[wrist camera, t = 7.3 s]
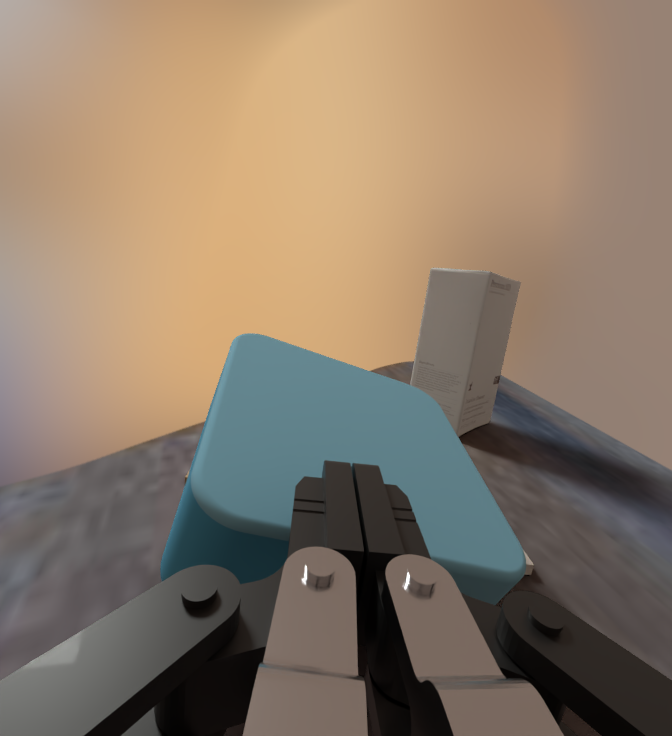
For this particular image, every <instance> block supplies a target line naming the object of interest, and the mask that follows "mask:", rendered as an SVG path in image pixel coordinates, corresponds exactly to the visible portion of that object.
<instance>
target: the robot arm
mask: <svg viewBox="0 0 672 736" xmlns="http://www.w3.org/2000/svg"><path fill="white" fill-rule="evenodd" d="M357 645H363V646H366V648H367V656H368V662H367V667H366V672H365V678H363V676H358V656H357ZM366 699H367V705H368V710H369V716H370V722H371V728H372V733H373V736H577V735H576V734H575V733H574V732H573V731H572V730H571V729H569V728H568V727H567V726H566V725H565V724H564V723H563V722H561V719H562V716H563V714H564V711H565V708H566V706H567V707H568V708H570V709H571V710H572V711H573V712H574V713H576V714H577V715H578V716H579V717H580V718H582V719H583V720H584V721H585V722H586V723H587V724H589V725H590V726H591V727H592V728H593V729H595V730H596V731H597V732H598V733H599V734H600V735H602V736H672V680H670V679H669V678H667V677H666V676H664V675H663V674H661V673H660V672H658V671H657V670H655V669H654V668H652V667H651V666H649V665H648V664H646V663H645V662H644V661H642V660H641V659H639V658H638V657H636V656H635V655H633V654H632V653H630V652H629V651H627V650H626V649H624V648H623V647H621V646H620V645H618V644H617V643H615V642H614V641H612V640H611V639H609V638H608V637H607V636H605V635H604V634H602V633H601V632H599V631H598V630H596V629H595V628H593V627H592V626H590V625H589V624H587V623H586V622H584V621H583V620H581V619H580V618H578V617H577V616H575V615H574V614H572V613H571V612H569V611H568V610H567V609H565V608H564V607H562V606H561V605H559V604H558V603H556V602H554V601H553V600H551V599H549V598H547V597H545V596H543V595H540V594H537V593H534V592H530V591H514V592H511V593H509V594H508V595H507V596H506V597H505V598H504V601H503V604H502V607H499V606H496V605H493V604H490V603H487V602H484V601H481V600H478V599H475V598H473V597H470V596H467V595H465V594H463V593H461V592H460V591H459V589H458V587H457V585H456V583H455V581H454V579H453V578H452V576H451V575H450V574H449V572H448V571H447V570H446V569H444V568H443V567H442V566H441V565H439V564H438V563H436V562H435V561H433V560H431V557H430V554H429V552H428V549H427V546H426V544H425V541H424V538H423V536H422V533H421V531H420V528H419V525H418V523H416V517H415V515H414V512H412V507H411V504H410V502H409V499H408V496H407V495H406V494H405V493H404V492H403V491H402V490H401V489H400V488H399V487H398V486H397V485H391V484H384V481H383V478H382V474H381V471H380V468H379V466H378V465H369V464H359V463H353V464H352V466H351V464H350V463H348V462H338V461H328V460H324V465H323V471H322V478H318V477H307V476H304V477H303V478H302V479H301V481H300V482H299V483H298V484H297V485H296V487H295V495H294V504H293V512H292V520H291V529H290V537H289V546H288V555H287V559H286V562H285V563H284V565H283V566H282V567H281V568H280V569H279V570H278V571H277V572H275V573H274V574H272V575H271V576H269V577H267V578H264V579H262V580H258V581H254V582H249V583H244V584H240V583H239V580H238V579H237V577H236V576H235V575H234V574H233V573H232V572H230V571H229V570H227V569H225V568H223V567H220V566H216V565H197V566H192V567H188V568H186V569H183V570H181V571H179V572H177V573H175V574H174V575H172V576H170V577H169V578H167V579H165V580H164V581H162V582H161V583H159V584H157V585H156V586H154V587H152V588H151V589H149V590H148V591H146V592H144V593H143V594H141V595H139V596H138V597H136V598H134V599H133V600H131V601H130V602H128V603H126V604H125V605H123V606H121V607H120V608H118V609H117V610H115V611H113V612H112V613H110V614H108V615H107V616H105V617H103V618H102V619H100V620H99V621H97V622H95V623H94V624H92V625H90V626H89V627H87V628H86V629H84V630H82V631H81V632H79V633H77V634H76V635H74V636H72V637H71V638H69V639H68V640H66V641H64V642H63V643H61V644H59V645H58V646H56V647H55V648H53V649H51V650H50V651H48V652H46V653H45V654H43V655H41V656H40V657H38V658H37V659H35V660H33V661H32V662H30V663H28V664H27V665H25V666H23V667H22V668H20V669H19V670H17V671H15V672H14V673H12V674H10V675H9V676H7V677H6V678H4V679H2V680H1V681H0V736H223V735H224V734H225V732H226V730H227V728H229V727H232V726H235V725H238V724H241V723H244V722H246V723H245V728H244V732H243V736H368V731H367V707H366Z"/></svg>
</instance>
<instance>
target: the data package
mask: <svg viewBox="0 0 672 736" xmlns="http://www.w3.org/2000/svg"><path fill="white" fill-rule="evenodd" d="M324 460H328V461H338V462H348V463H350V464H351V466H352V464H353V463H359V464H369V465H378V466H379V468H380V471H381V474H382V478H383V481H384V484H391V485H397V486H398V487H399V488H400V489H401V490H402V491H403V492H404V493H405V494H406V495H407V496H408V499H409V502H410V504H411V507H412V512H414V515H415V517H416V523H418V525H419V528H420V531H421V533H422V536H423V538H424V541H425V544H426V546H427V549H428V552H429V554H430V557H431V560H433V561H435V562H436V563H438V564H439V565H441V566H442V567H443V568H444V569H446V570H447V571H448V572H449V574H450V575H451V576H452V578H453V579H454V581H455V583H456V585H457V587H458V589H459V591H460V592H461V593H463V594H465V595H467V596H470V597H473V598H475V599H478V600H481V601H484V602H487V603H490V604H493V605H496V604H497V603H498V602H499V601H500V600H501V599H502V598H503V597H504V596H505V595H506V594H507V593H508V592H509V591H510V590H511V589H512V588H513V587H514V586H515V585H516V584H517V583H518V582H519V581H520V580H521V579H522V578H523V576H524V574H525V571H526V558H525V554H524V551H523V549H522V546H521V544H520V543H519V541H518V539H517V537H516V536H515V534H514V532H513V530H512V529H511V527H510V525H509V524H508V522H507V520H506V518H505V517H504V515H503V513H502V512H501V510H500V508H499V506H498V505H497V503H496V501H495V500H494V498H493V496H492V494H491V493H490V491H489V489H488V488H487V486H486V484H485V482H484V481H483V479H482V477H481V475H480V474H479V472H478V470H477V469H476V467H475V465H474V463H473V462H472V460H471V458H470V457H469V455H468V453H467V451H466V450H465V448H464V446H463V445H462V443H461V441H460V439H459V438H458V436H457V434H456V433H455V431H454V429H453V427H452V426H451V424H450V422H449V421H448V419H447V417H446V415H445V414H444V412H443V410H442V409H441V407H440V405H439V404H438V403H437V402H436V401H435V400H434V399H433V398H432V397H431V396H429V395H428V394H426V393H425V392H423V391H422V390H420V389H418V388H416V387H414V386H411V385H408V384H405V383H402V382H399V381H397V380H394V379H391V378H388V377H385V376H382V375H379V374H376V373H373V372H370V371H367V370H364V369H361V368H359V367H356V366H353V365H350V364H347V363H344V362H341V361H338V360H335V359H332V358H329V357H326V356H323V355H321V354H318V353H314V352H312V351H308V350H306V349H303V348H300V347H297V346H294V345H291V344H288V343H285V342H282V341H280V340H276V339H274V338H271V337H268V336H264V335H260V334H242V335H240V336H237V337H236V338H235V339H234V340H233V342H232V345H231V347H230V350H229V353H228V356H227V359H226V362H225V365H224V368H223V371H222V374H221V377H220V379H219V382H218V385H217V388H216V391H215V394H214V397H213V400H212V403H211V406H210V409H209V412H208V416H207V418H206V421H205V425H204V428H203V431H202V434H201V437H200V440H199V443H198V447H197V450H196V453H195V456H194V459H193V462H192V465H191V468H190V472H189V475H188V478H187V481H186V484H185V487H184V490H183V494H182V497H181V500H180V503H179V506H178V509H177V512H176V516H175V519H174V522H173V525H172V528H171V531H170V534H169V538H168V541H167V544H166V547H165V550H164V553H163V557H162V561H161V569H160V570H161V579H162V581H164V580H165V579H167V578H169V577H170V576H172V575H174V574H175V573H177V572H179V571H181V570H183V569H186V568H188V567H192V566H197V565H216V566H220V567H223V568H225V569H227V570H229V571H230V572H232V573H233V574H234V575H235V576H236V577H237V579H238V580H239V583H240V584H244V583H249V582H254V581H258V580H262V579H264V578H267V577H269V576H271V575H272V574H274V573H275V572H277V571H278V570H279V569H280V568H281V567H282V566H283V565H284V563H285V562H286V559H287V555H288V546H289V537H290V529H291V520H292V512H293V504H294V495H295V487H296V485H297V484H298V483H299V482H300V481H301V479H302V478H303V477H304V476H307V477H318V478H322V471H323V465H324Z"/></svg>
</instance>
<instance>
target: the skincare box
mask: <svg viewBox="0 0 672 736" xmlns="http://www.w3.org/2000/svg"><path fill="white" fill-rule="evenodd" d="M520 284H521V282H519V281H515V280H512V279H509V278H505V277H503V276H500V275H498V274H495V273H492V272H488V271H474V270H458V269H446V268H432V269H431V270H430V276H429V282H428V288H427V293H426V299H425V305H424V310H423V316H422V321H421V327H420V333H419V338H418V344H417V349H416V355H415V360H414V366H413V372H412V378H411V383H410V385H411V386H414V387H416V388H418V389H420V390H422V391H423V392H425V393H426V394H428V395H429V396H431V397H432V398H433V399H434V400H435V401H436V402H437V403H438V404H439V405H440V407H441V409H442V410H443V412H444V414H445V415H446V417H447V419H448V421H449V422H450V424H451V426H452V427H453V429H454V431H455V433H456V434H457V436H458V437H460V435H462V434H464V433H466V432H468V431H470V430H472V429H474V428H476V427H479V426H481V425H484V424H487V423H489V422H490V419H491V415H492V410H493V406H494V402H495V397H496V392H497V388H498V383H499V379H500V374H501V369H502V365H503V361H504V356H505V351H506V347H507V343H508V338H509V333H510V328H511V323H512V318H513V314H514V309H515V305H516V301H517V297H518V292H519V288H520Z"/></svg>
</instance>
